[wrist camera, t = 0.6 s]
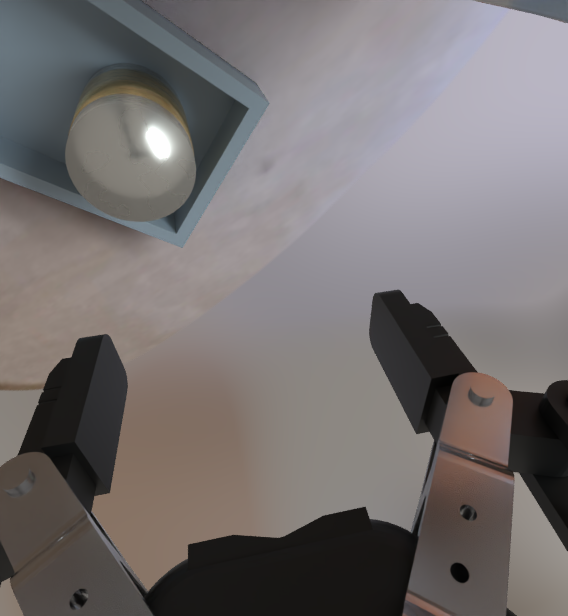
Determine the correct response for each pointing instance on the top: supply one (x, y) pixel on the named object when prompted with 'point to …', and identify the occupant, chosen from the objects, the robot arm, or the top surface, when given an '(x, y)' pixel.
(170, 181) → the glass jar
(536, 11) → the cracker box
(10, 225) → the top surface
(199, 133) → the blue-grey tray
